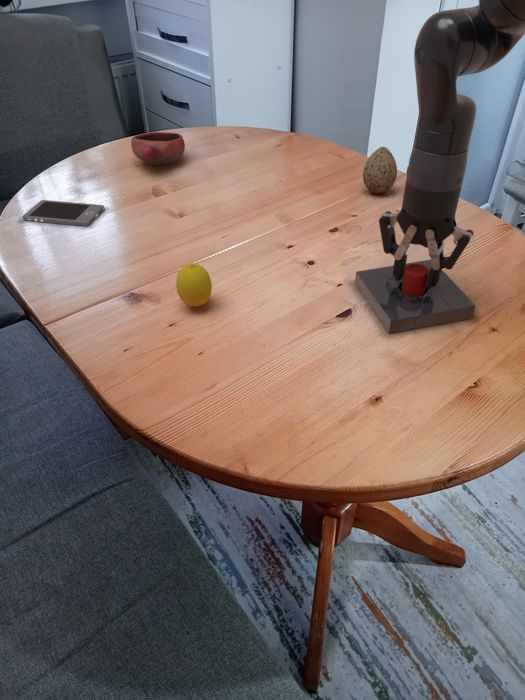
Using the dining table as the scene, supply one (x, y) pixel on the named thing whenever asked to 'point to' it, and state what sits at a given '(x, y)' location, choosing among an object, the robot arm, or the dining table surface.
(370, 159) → the decorative egg
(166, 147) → the bowl
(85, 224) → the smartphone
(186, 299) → the lemon
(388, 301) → the grey square base
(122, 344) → the dining table surface
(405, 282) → the stopper
